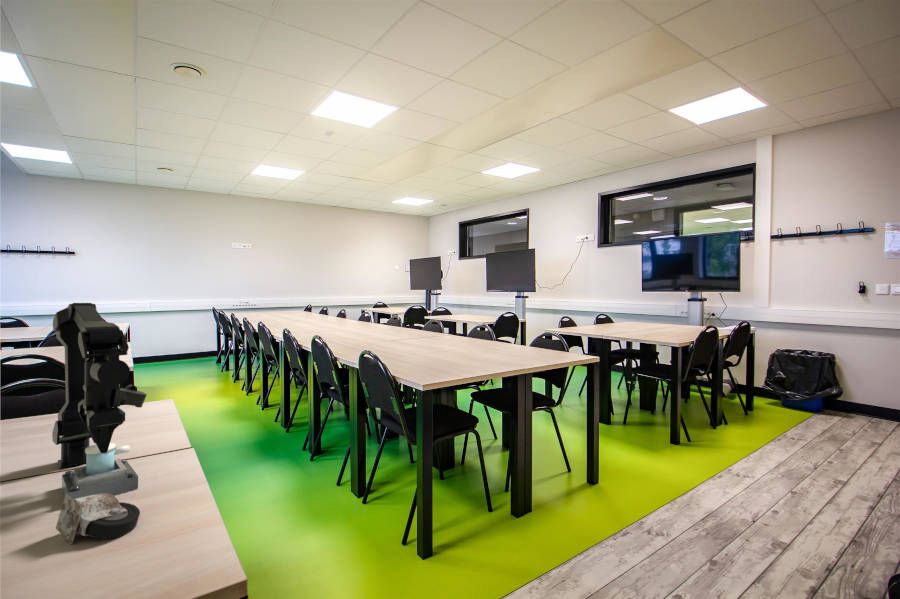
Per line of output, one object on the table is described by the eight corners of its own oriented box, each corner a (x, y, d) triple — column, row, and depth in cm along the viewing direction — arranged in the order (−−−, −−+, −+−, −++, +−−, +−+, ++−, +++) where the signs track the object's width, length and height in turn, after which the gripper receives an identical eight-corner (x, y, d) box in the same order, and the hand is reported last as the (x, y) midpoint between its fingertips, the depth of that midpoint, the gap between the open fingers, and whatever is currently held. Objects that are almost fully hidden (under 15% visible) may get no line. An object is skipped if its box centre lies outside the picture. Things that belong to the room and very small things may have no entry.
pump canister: (83, 475, 98) (83, 446, 98) (126, 465, 104) (126, 438, 104) (87, 482, 94) (87, 452, 94) (131, 471, 100) (131, 443, 100)
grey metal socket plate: (61, 487, 98) (62, 468, 98) (126, 472, 107) (126, 454, 107) (68, 507, 89) (68, 485, 89) (138, 488, 98) (138, 469, 98)
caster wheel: (141, 539, 82) (79, 559, 74) (112, 513, 88) (51, 529, 79) (151, 505, 83) (91, 522, 74) (122, 481, 88) (62, 494, 79)
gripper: (152, 381, 97) (152, 449, 97) (134, 370, 110) (134, 430, 110) (89, 388, 89) (89, 462, 89) (77, 376, 102) (77, 441, 102)
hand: (100, 447), depth 98 cm, fingers open, 9 cm apart
